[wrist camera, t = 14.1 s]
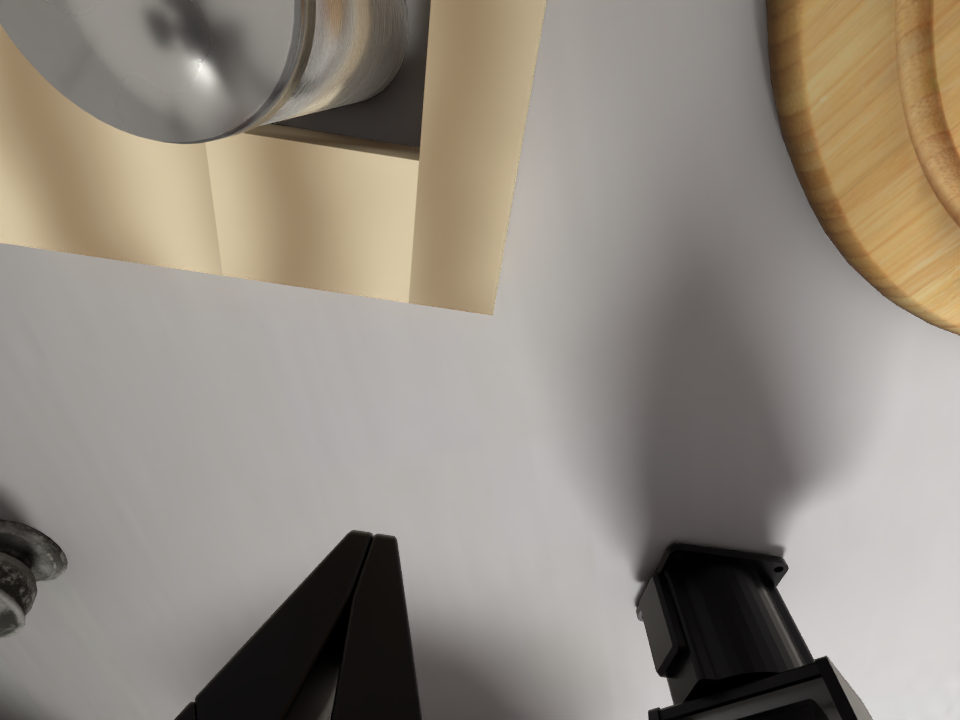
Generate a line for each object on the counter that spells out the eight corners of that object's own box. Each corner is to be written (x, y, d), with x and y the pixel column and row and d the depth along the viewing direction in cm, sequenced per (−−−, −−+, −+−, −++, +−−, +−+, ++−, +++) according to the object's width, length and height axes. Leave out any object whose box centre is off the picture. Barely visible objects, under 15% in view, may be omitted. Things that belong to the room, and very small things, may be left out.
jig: (600, -344, 12) (621, -437, 9) (494, 288, 20) (492, 315, 18) (-198, -500, 11) (-370, -639, 9) (32, 219, 19) (-28, 238, 17)
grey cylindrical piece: (415, -60, 14) (283, -246, 6) (405, 115, 17) (299, 166, 8) (255, -88, 14) (-124, -323, 6) (268, 93, 17) (12, 121, 8)
